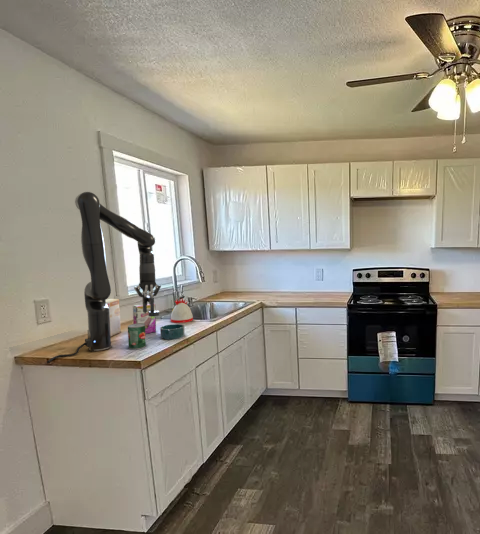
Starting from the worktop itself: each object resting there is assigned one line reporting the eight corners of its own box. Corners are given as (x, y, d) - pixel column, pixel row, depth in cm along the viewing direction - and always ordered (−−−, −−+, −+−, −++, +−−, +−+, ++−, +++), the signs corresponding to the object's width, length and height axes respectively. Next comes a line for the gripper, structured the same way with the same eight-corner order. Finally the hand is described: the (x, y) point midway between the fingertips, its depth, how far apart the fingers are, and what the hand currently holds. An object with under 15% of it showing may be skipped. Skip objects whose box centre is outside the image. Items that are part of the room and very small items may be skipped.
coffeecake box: (109, 331, 201) (108, 298, 200) (121, 332, 201) (119, 298, 199) (92, 339, 187) (90, 303, 185) (104, 339, 186) (102, 303, 184)
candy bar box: (137, 336, 192) (136, 306, 191) (133, 334, 195) (132, 305, 194) (156, 331, 201) (155, 303, 199) (152, 330, 204) (151, 302, 203)
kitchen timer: (170, 319, 233) (169, 297, 232) (192, 317, 238) (191, 295, 237) (171, 323, 220) (170, 300, 219) (193, 321, 225) (192, 298, 224)
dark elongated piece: (160, 315, 178) (160, 298, 177) (150, 316, 174) (150, 299, 174) (149, 311, 190) (148, 294, 189) (139, 312, 186) (139, 295, 186)
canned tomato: (147, 347, 171) (146, 325, 170) (129, 350, 167) (128, 327, 166) (144, 343, 178) (143, 322, 177) (127, 346, 174) (126, 324, 173)
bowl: (166, 341, 182) (165, 330, 181) (157, 336, 191) (156, 326, 191) (188, 336, 190) (188, 326, 190) (178, 332, 199) (178, 322, 199)
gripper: (157, 270, 189) (158, 302, 191) (131, 272, 180) (132, 305, 181) (163, 271, 184) (164, 303, 185) (135, 273, 175) (136, 307, 176)
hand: (148, 304), depth 183 cm, fingers closed on dark elongated piece
